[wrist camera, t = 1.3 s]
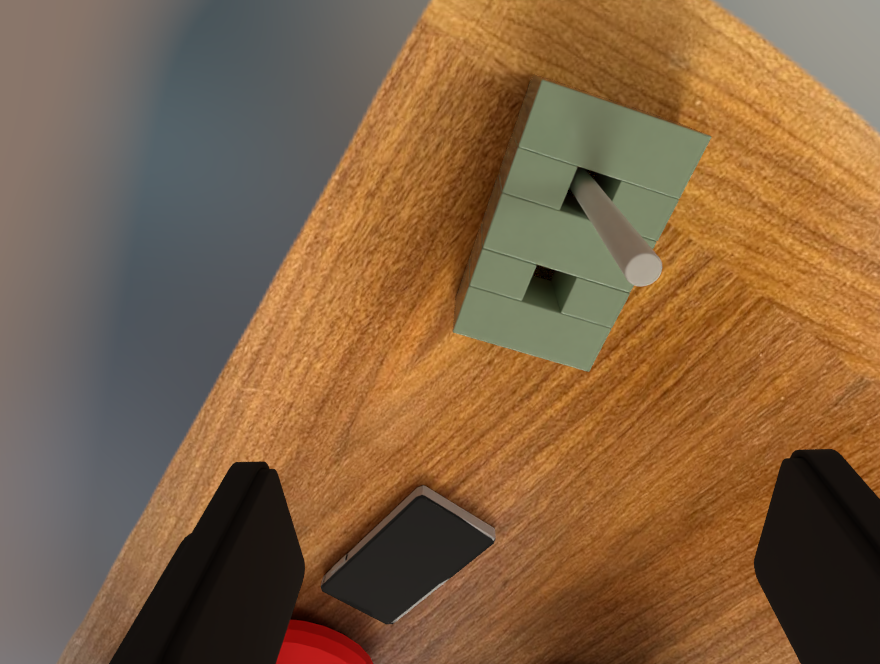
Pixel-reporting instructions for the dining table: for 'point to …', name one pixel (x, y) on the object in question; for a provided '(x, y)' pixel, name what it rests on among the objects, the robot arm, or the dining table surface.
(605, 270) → the pen holder
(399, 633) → the dining table surface
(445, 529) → the smartphone
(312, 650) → the red disc with nozzle
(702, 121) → the dining table surface
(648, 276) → the grey cylindrical rod
